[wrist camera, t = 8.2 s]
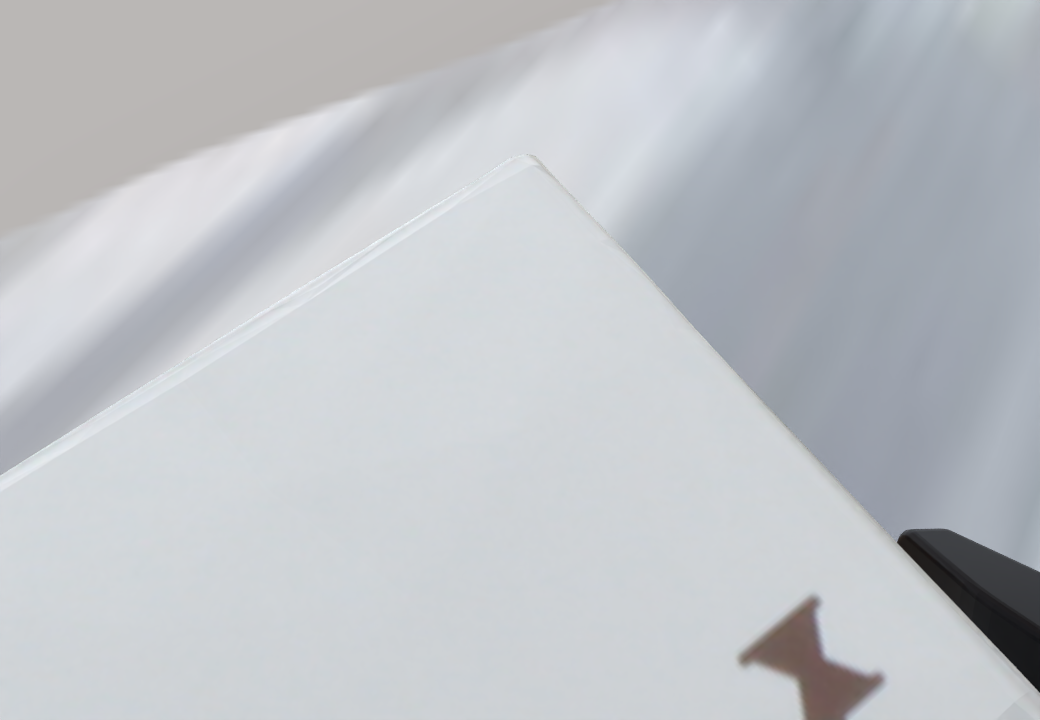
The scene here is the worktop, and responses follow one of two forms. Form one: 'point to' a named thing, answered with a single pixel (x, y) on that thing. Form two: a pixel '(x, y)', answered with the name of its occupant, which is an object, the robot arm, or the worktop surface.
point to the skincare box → (467, 514)
